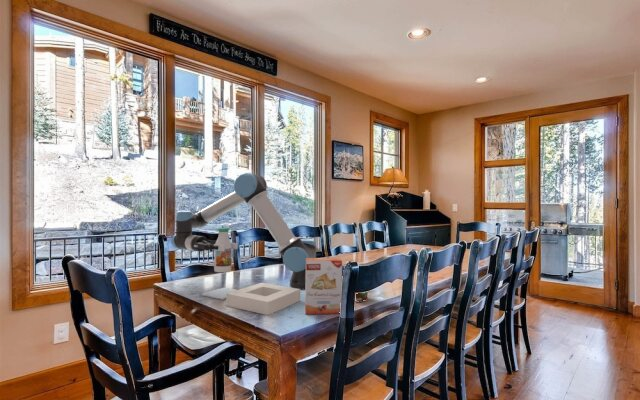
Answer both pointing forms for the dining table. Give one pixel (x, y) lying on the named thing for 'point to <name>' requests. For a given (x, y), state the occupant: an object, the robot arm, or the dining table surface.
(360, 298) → the food container
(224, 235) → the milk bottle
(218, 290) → the mat
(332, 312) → the cracker box
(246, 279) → the dining table surface
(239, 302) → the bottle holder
